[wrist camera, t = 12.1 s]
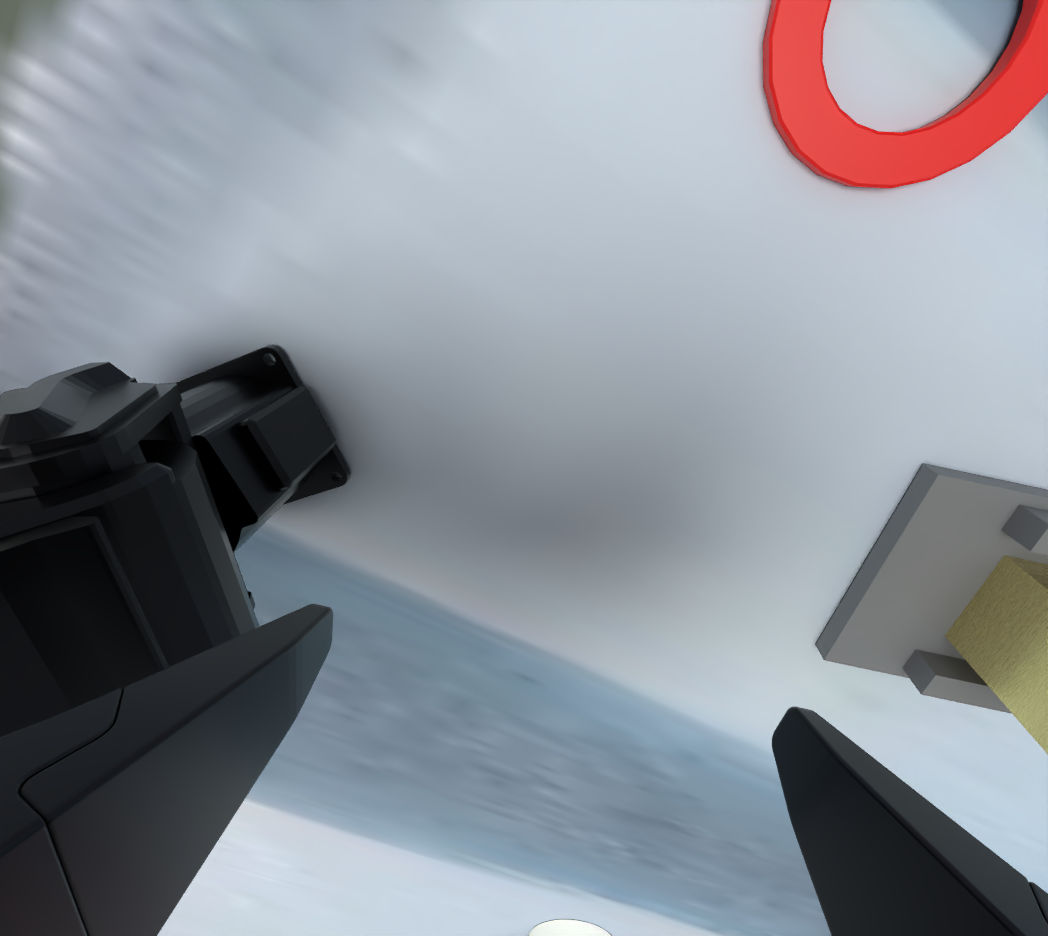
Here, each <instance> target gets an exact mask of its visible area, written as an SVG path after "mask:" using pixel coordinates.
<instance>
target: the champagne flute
mask: <svg viewBox="0 0 1048 936" xmlns="http://www.w3.org/2000/svg"><path fill="white" fill-rule="evenodd" d="M529 936H611V935H610V934H609V933H608V932H607V931H605V930H604V929H602V928H600V927H598V926H596V925H593V924H590V923H587V922H583V921H578V920H552V921H548V922H544V923H542V924H539V925H537V926H536V927H534V928H533V929H532V930H531V932H530V934H529Z"/></svg>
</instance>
